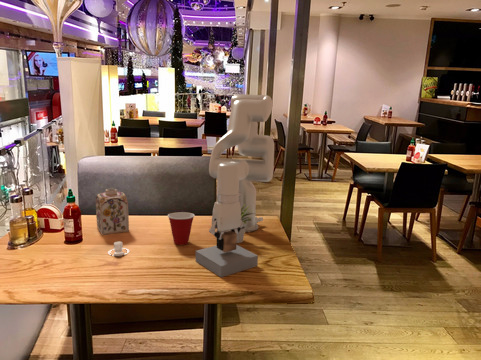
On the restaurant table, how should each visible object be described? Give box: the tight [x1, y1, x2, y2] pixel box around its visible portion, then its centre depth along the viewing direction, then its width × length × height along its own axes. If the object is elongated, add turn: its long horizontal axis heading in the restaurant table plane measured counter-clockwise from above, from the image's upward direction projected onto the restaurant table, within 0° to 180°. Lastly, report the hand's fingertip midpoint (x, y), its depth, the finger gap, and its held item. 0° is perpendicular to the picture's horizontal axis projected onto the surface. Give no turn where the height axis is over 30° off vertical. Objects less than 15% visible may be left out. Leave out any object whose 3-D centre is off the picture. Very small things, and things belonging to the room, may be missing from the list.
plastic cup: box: [166, 211, 196, 246], centre depth 164 cm, size 11×11×12 cm
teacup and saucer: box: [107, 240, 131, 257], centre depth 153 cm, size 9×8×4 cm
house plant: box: [237, 205, 256, 244], centre depth 166 cm, size 14×14×16 cm
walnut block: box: [219, 230, 238, 252], centre depth 145 cm, size 5×5×6 cm
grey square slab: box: [194, 244, 259, 278], centre depth 146 cm, size 16×16×4 cm
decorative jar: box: [95, 188, 130, 236], centre depth 176 cm, size 12×12×18 cm
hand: (226, 246), depth 145 cm, fingers closed on walnut block, 5 cm apart
